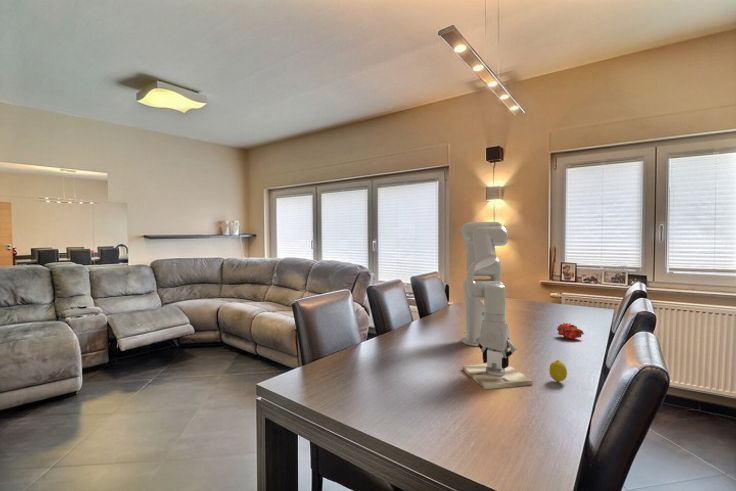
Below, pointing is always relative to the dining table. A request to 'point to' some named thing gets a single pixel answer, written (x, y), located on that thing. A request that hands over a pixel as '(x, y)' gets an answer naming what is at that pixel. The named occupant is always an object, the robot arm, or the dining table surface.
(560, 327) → the dragon fruit
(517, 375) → the base
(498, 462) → the dining table surface
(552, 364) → the lemon
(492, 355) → the white box
